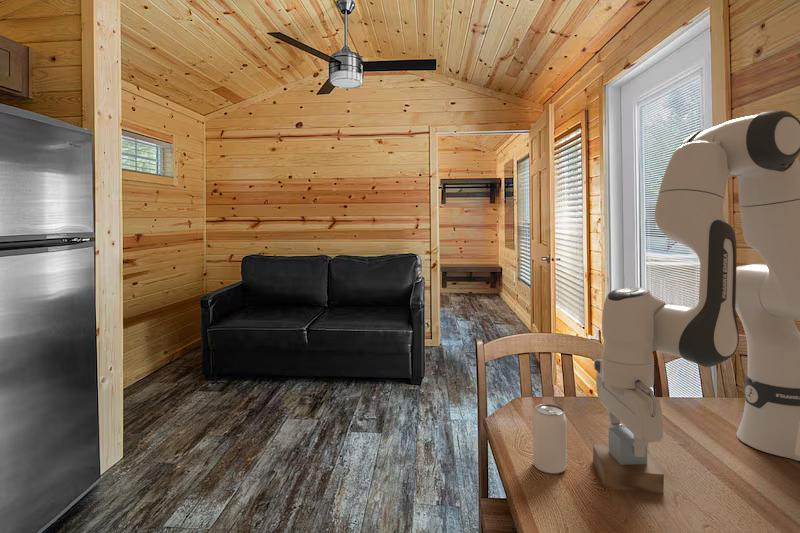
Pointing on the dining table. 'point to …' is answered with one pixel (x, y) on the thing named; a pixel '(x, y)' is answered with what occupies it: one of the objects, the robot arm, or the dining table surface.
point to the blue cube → (624, 447)
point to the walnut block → (627, 473)
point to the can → (549, 439)
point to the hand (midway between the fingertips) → (626, 443)
